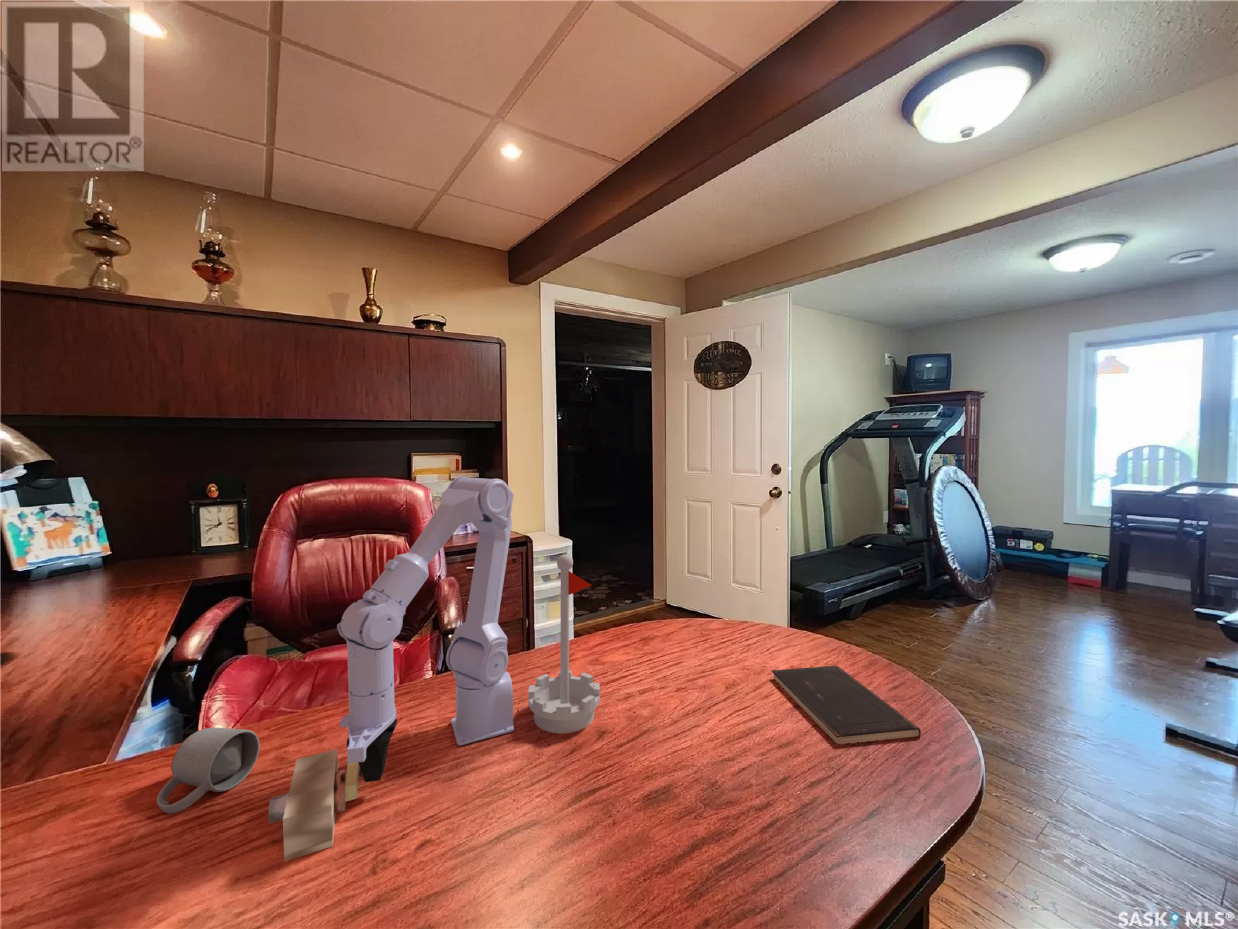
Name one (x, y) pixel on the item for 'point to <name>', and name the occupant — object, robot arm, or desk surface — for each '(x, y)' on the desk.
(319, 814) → the hitch block
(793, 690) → the hardcover book
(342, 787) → the pin
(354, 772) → the bar
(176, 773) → the ceramic mug
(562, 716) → the flag stand
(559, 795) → the desk surface
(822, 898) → the desk surface
